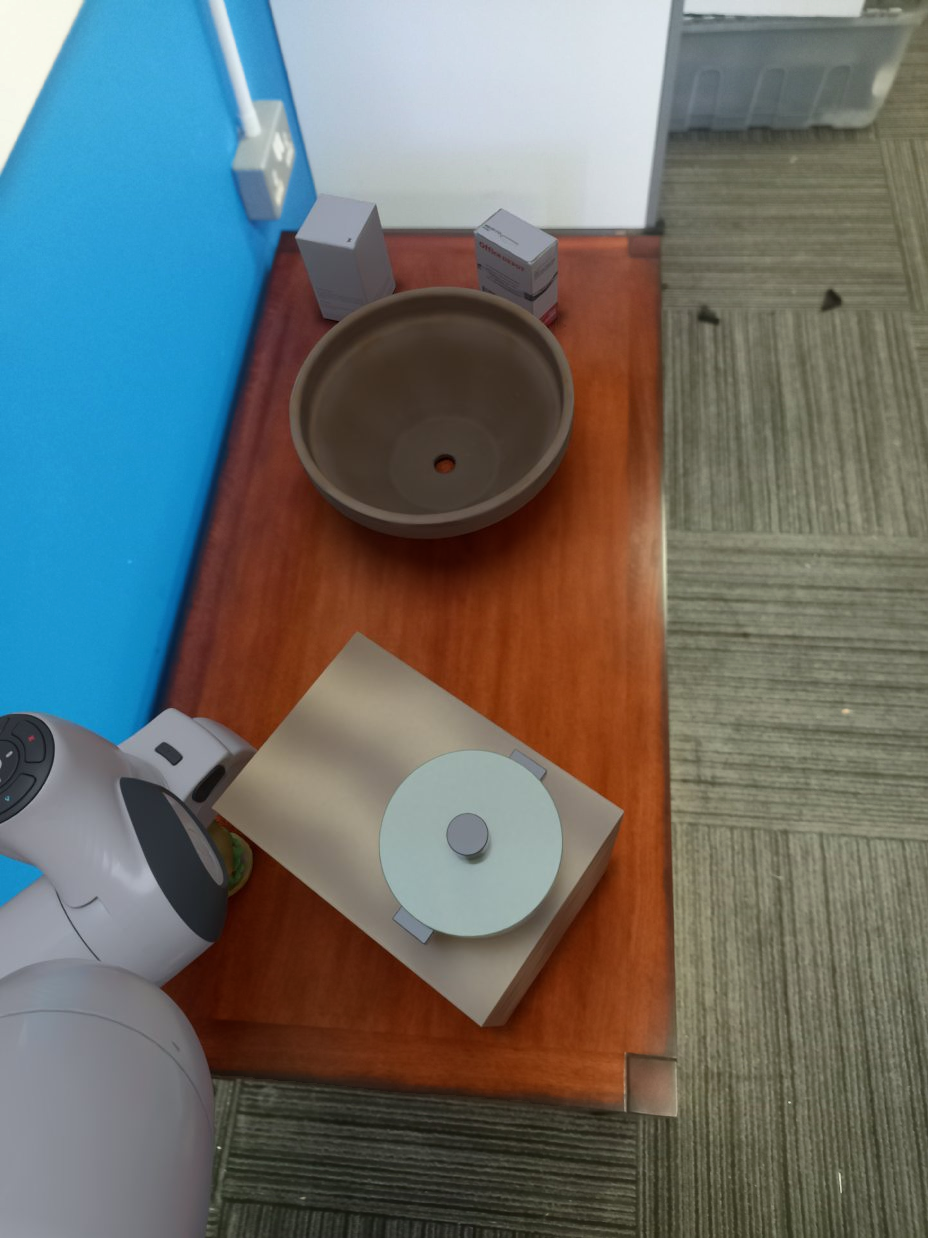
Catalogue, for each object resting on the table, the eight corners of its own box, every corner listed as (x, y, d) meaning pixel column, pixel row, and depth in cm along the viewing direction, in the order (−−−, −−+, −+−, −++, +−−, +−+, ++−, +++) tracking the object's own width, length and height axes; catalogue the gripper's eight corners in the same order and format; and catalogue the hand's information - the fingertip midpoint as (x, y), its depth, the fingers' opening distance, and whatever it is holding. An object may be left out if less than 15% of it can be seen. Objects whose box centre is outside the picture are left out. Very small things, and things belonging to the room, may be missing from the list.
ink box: (559, 316, 107) (560, 237, 96) (533, 342, 106) (530, 265, 95) (506, 284, 110) (500, 204, 99) (479, 308, 108) (470, 230, 98)
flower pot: (531, 612, 91) (526, 550, 79) (280, 548, 97) (241, 482, 85) (602, 394, 101) (607, 311, 89) (372, 349, 107) (348, 265, 96)
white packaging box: (397, 286, 111) (379, 201, 100) (374, 331, 109) (352, 249, 97) (344, 274, 113) (320, 190, 101) (320, 318, 110) (292, 236, 99)
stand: (503, 1026, 75) (481, 1027, 54) (302, 864, 83) (210, 807, 61) (607, 868, 80) (624, 811, 58) (407, 728, 87) (357, 630, 65)
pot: (490, 995, 54) (479, 990, 47) (356, 888, 58) (326, 868, 50) (602, 828, 58) (608, 799, 50) (468, 736, 61) (456, 697, 54)
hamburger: (275, 848, 84) (232, 822, 73) (241, 923, 81) (191, 908, 70) (204, 820, 85) (153, 790, 75) (169, 893, 83) (109, 873, 72)
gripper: (43, 975, 60) (132, 981, 73) (243, 735, 66) (294, 780, 78) (-15, 917, 62) (81, 933, 75) (184, 689, 68) (242, 740, 80)
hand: (191, 853), depth 77 cm, fingers open, 8 cm apart
